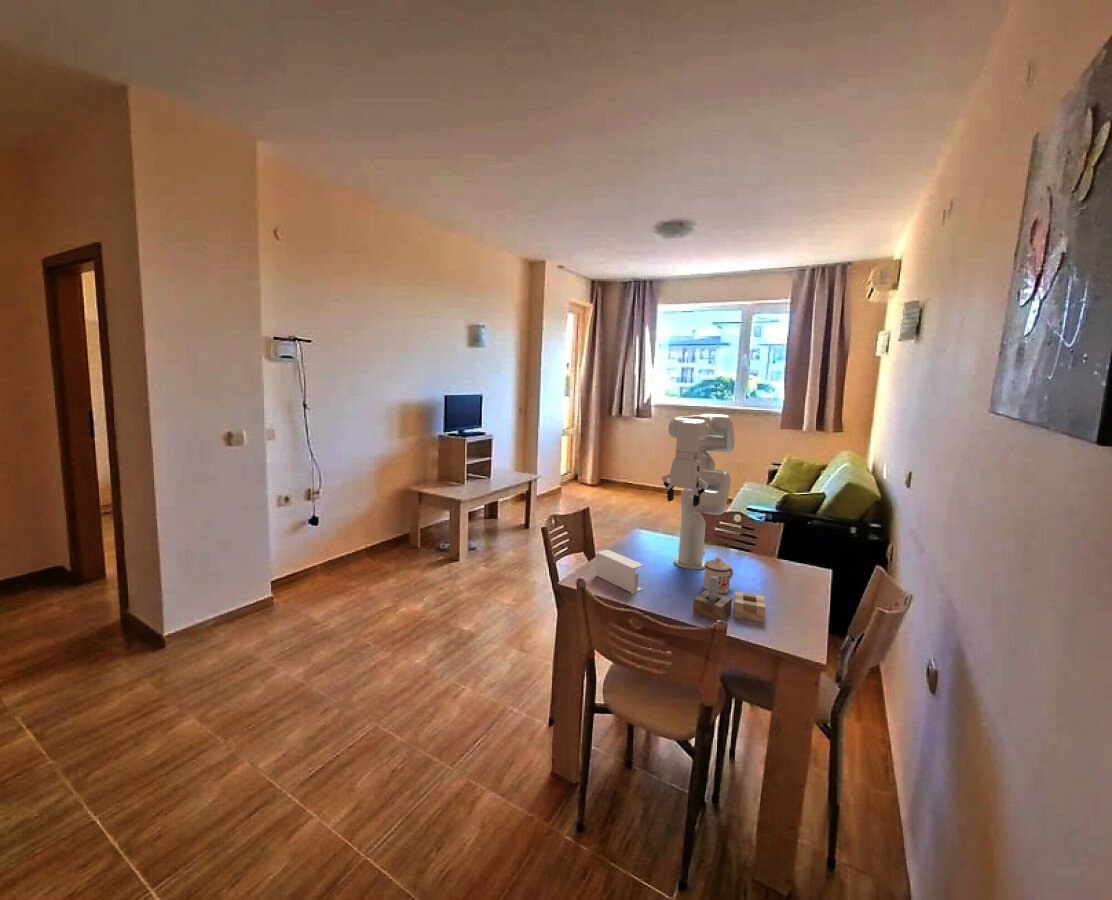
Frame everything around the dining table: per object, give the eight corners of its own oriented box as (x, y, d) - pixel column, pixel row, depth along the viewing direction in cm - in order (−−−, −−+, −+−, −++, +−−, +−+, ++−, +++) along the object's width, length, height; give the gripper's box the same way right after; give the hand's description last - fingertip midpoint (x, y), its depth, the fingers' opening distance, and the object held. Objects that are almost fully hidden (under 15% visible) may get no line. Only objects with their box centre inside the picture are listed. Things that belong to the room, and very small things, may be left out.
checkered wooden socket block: (733, 605, 172) (735, 591, 171) (762, 610, 169) (764, 595, 168) (733, 617, 163) (735, 602, 162) (764, 622, 160) (765, 607, 160)
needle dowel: (709, 610, 167) (712, 575, 165) (717, 613, 166) (720, 577, 164) (706, 613, 165) (708, 577, 163) (713, 615, 164) (716, 579, 162)
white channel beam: (642, 590, 181) (644, 565, 180) (631, 594, 178) (633, 568, 177) (604, 572, 197) (605, 548, 196) (593, 575, 194) (594, 551, 192)
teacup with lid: (715, 596, 179) (718, 564, 177) (697, 586, 187) (699, 555, 185) (740, 590, 184) (743, 559, 182) (722, 581, 192) (724, 551, 190)
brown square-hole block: (704, 604, 172) (705, 590, 171) (730, 612, 166) (732, 598, 165) (692, 613, 165) (693, 598, 164) (720, 622, 159) (721, 607, 158)
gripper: (714, 458, 178) (710, 505, 181) (668, 452, 189) (665, 497, 192) (705, 460, 173) (701, 509, 175) (659, 454, 183) (656, 500, 186)
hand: (682, 503), depth 183 cm, fingers open, 9 cm apart
